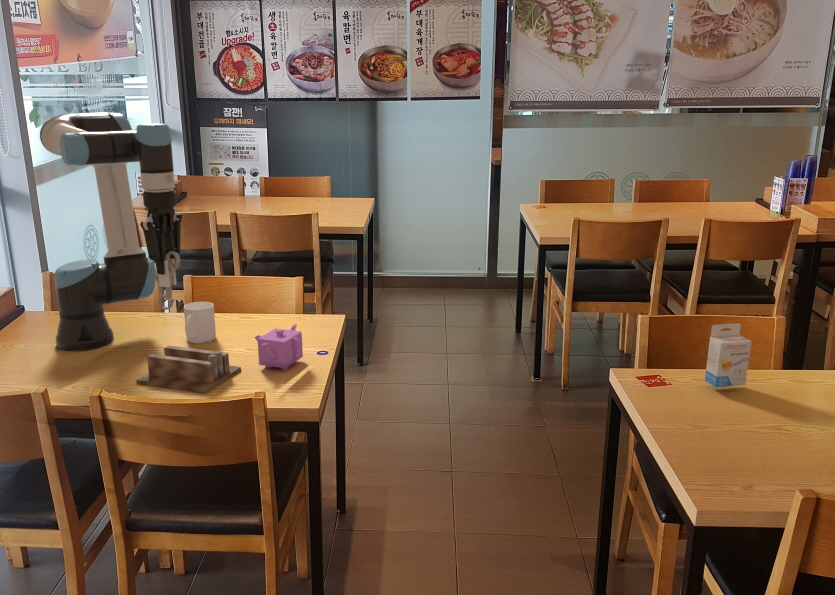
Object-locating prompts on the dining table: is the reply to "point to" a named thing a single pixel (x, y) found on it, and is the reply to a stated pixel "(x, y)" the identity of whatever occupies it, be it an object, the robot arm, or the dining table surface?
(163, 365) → the letter rack
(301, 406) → the dining table surface
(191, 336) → the mug
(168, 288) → the bracket
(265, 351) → the teapot
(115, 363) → the dining table surface
